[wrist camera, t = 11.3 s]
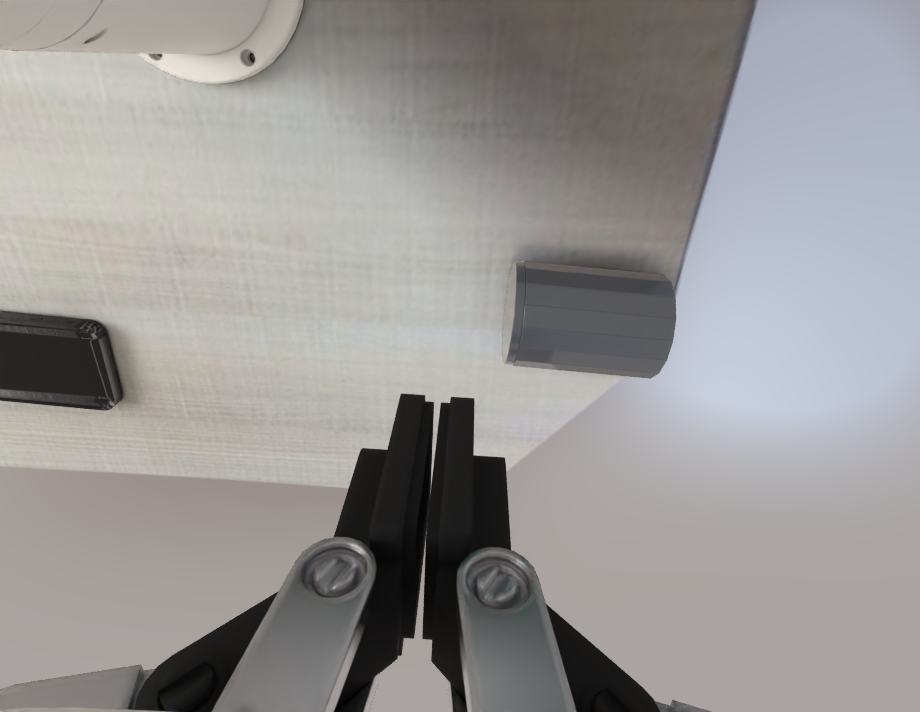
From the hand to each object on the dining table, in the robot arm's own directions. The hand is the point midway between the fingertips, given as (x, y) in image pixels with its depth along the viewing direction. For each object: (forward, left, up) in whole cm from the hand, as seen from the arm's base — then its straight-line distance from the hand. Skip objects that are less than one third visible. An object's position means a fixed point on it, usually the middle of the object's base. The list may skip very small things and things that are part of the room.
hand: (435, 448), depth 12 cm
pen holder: (+4, -7, -24) cm, 25 cm away
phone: (-35, -15, -27) cm, 47 cm away
